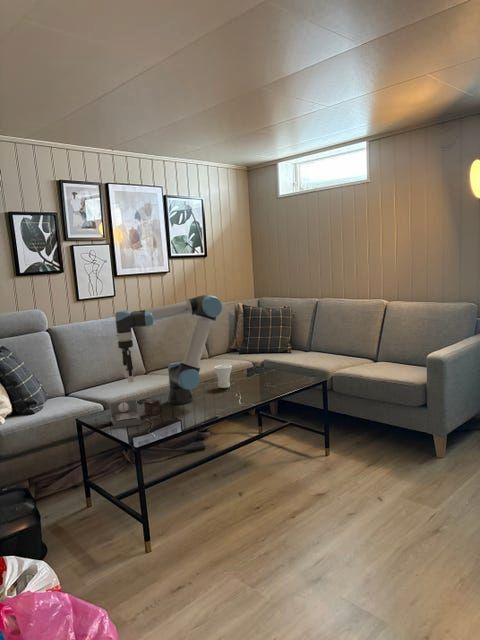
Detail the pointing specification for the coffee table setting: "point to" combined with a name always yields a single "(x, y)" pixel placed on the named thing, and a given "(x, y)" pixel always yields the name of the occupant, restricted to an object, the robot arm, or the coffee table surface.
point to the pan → (125, 416)
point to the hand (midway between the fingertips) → (129, 379)
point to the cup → (223, 375)
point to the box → (152, 407)
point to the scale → (124, 407)
